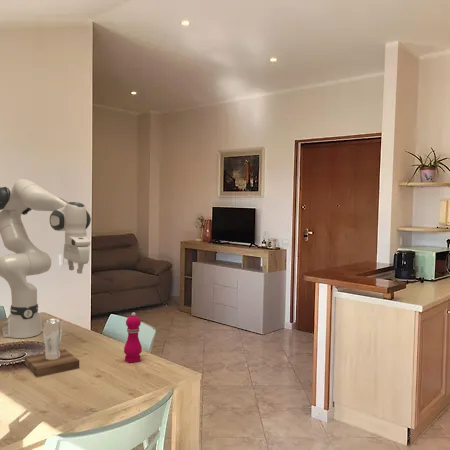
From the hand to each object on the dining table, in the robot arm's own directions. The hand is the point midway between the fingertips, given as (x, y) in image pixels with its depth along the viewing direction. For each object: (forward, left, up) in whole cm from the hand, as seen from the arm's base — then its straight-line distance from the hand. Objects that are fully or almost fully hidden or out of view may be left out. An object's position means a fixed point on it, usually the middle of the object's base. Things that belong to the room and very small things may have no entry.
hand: (75, 271), depth 202 cm
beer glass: (+15, -14, -31) cm, 37 cm away
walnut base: (+15, -15, -34) cm, 40 cm away
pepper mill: (+27, +14, -34) cm, 46 cm away
